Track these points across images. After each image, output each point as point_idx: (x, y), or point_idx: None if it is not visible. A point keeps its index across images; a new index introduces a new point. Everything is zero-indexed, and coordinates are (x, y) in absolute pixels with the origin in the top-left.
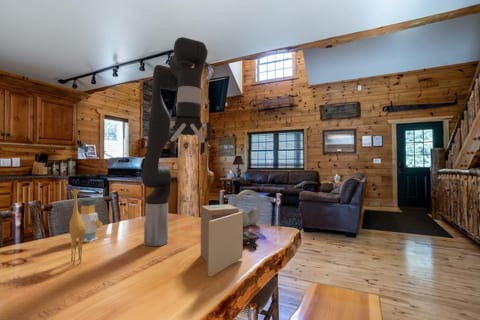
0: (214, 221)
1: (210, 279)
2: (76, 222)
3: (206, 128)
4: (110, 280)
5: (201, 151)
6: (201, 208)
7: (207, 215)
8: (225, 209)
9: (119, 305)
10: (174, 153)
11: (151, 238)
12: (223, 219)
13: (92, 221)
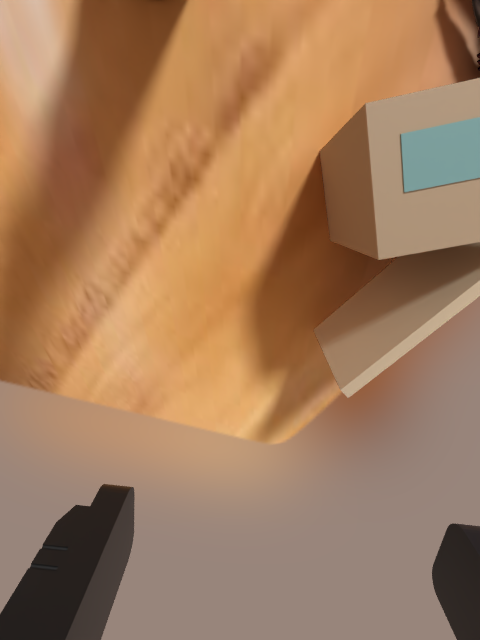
0: (361, 386)
1: None
2: None
3: None
4: (96, 283)
5: (465, 622)
6: (362, 117)
7: (367, 229)
8: (465, 243)
9: (146, 389)
10: (129, 547)
11: None
12: (406, 348)
13: None
